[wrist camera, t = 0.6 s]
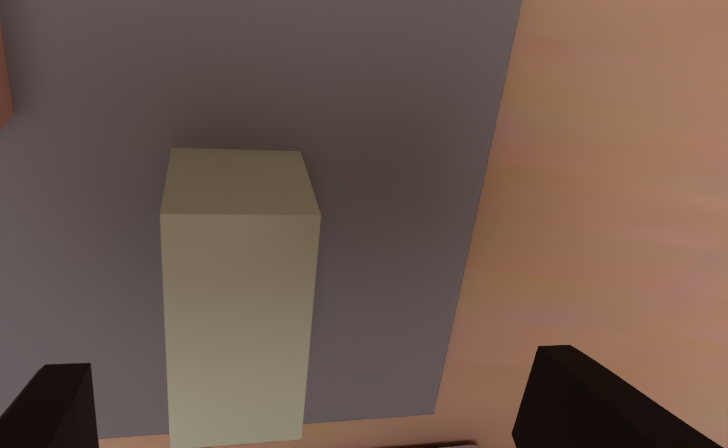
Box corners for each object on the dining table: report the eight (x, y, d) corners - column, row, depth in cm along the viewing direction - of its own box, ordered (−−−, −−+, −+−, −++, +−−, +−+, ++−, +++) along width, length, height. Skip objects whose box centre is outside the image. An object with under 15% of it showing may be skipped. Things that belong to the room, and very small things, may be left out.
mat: (430, 406, 24) (433, 414, 24) (-337, 461, 18) (-347, 471, 18) (531, -80, 16) (539, -80, 16) (-731, -241, 11) (-762, -246, 10)
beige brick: (287, 347, 21) (301, 439, 17) (178, 352, 20) (170, 449, 16) (300, 151, 18) (320, 215, 14) (171, 147, 17) (159, 214, 13)
